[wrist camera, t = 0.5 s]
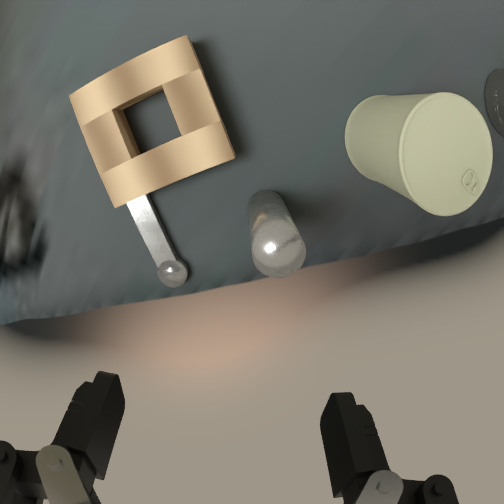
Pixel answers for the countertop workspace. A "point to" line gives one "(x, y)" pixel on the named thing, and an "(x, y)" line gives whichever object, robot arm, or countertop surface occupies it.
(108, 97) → the socket block
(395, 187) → the can
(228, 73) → the countertop surface
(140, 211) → the bar
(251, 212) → the pin
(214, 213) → the countertop surface
